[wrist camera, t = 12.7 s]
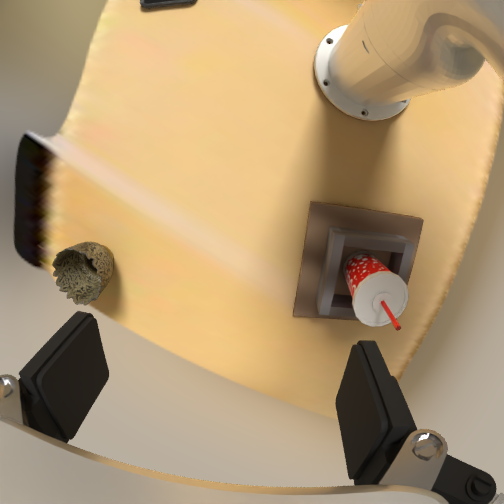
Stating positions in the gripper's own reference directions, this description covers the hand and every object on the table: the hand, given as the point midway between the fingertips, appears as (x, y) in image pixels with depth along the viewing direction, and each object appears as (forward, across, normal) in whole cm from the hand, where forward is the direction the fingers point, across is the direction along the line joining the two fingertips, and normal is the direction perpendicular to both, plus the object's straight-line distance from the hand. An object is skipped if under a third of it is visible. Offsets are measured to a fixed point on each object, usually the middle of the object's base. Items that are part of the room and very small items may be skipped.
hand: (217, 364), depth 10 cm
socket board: (+28, -14, +7) cm, 32 cm away
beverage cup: (+27, -14, +6) cm, 31 cm away
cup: (+28, +21, +8) cm, 36 cm away
